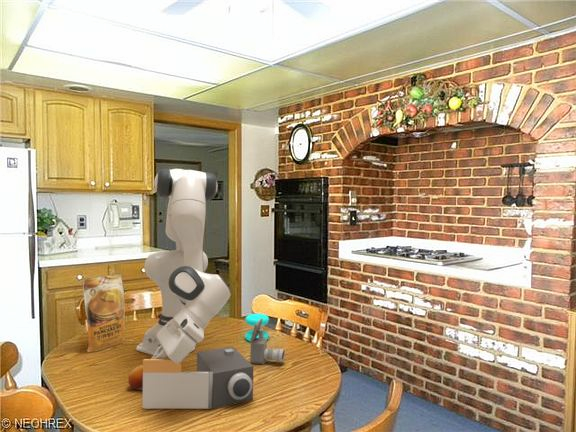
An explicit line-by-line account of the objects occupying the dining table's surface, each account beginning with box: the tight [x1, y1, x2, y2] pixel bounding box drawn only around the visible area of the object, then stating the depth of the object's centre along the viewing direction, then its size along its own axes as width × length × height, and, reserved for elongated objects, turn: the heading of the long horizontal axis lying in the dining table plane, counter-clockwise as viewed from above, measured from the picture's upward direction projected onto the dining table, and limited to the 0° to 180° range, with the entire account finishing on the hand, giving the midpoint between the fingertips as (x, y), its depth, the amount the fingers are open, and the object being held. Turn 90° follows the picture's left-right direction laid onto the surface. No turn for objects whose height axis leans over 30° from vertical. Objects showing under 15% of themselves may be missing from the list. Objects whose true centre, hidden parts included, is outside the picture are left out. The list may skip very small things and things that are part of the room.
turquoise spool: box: [244, 313, 270, 342], centre depth 170 cm, size 10×10×10 cm
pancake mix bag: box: [81, 273, 126, 353], centre depth 158 cm, size 7×19×28 cm, turn 149°
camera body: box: [196, 346, 254, 409], centre depth 121 cm, size 20×12×11 cm, turn 27°
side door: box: [142, 358, 213, 410], centre depth 111 cm, size 19×1×14 cm, turn 92°
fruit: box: [127, 364, 143, 391], centre depth 124 cm, size 8×8×8 cm
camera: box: [249, 318, 286, 365], centre depth 145 cm, size 9×12×15 cm
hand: (153, 362), depth 113 cm, fingers closed
